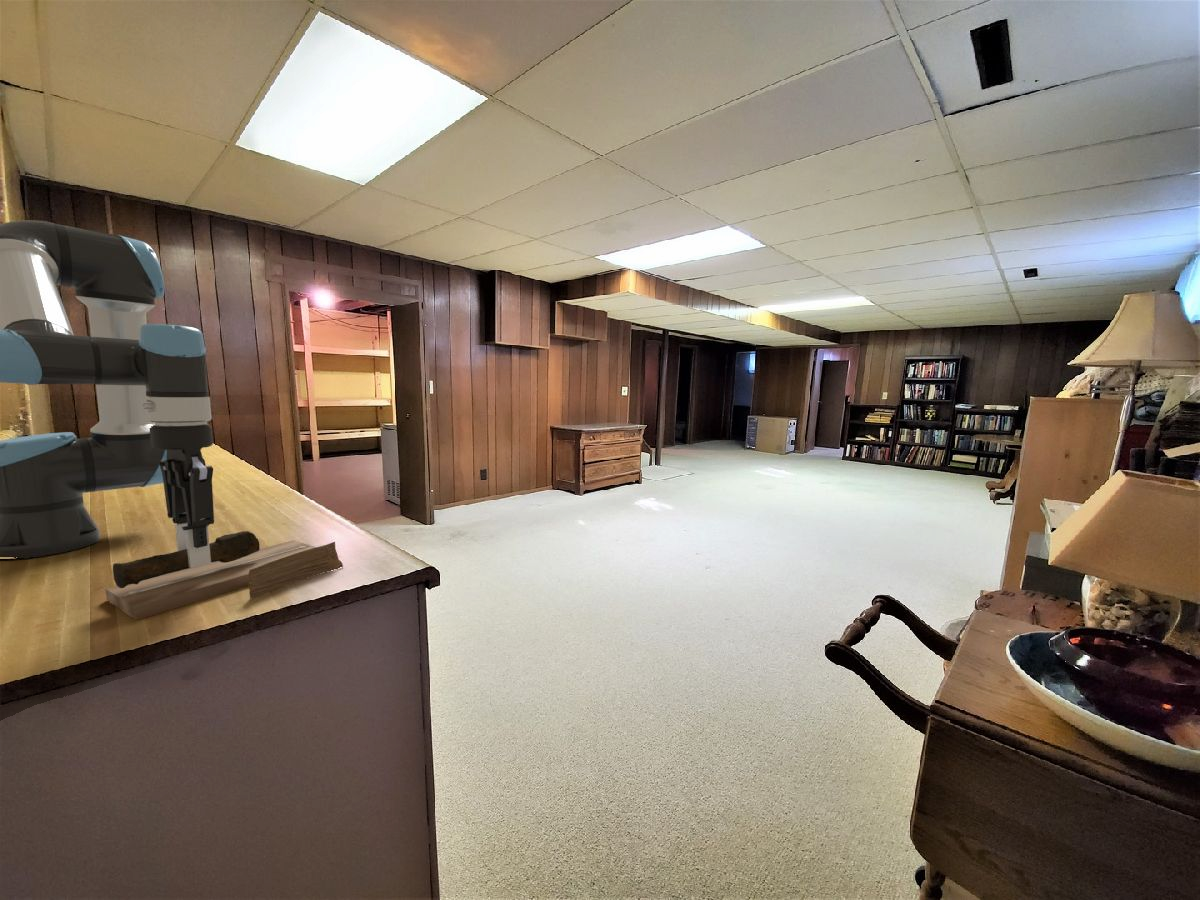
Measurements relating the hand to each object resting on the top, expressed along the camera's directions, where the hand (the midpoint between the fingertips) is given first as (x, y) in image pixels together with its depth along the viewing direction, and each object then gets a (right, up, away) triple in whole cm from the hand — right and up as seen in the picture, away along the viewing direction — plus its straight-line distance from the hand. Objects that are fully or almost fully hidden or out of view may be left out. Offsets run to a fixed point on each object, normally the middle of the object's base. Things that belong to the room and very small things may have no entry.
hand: (194, 562), depth 78 cm
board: (+2, -4, +5) cm, 6 cm away
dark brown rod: (0, -1, 0) cm, 1 cm away
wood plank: (+15, -5, +4) cm, 16 cm away
